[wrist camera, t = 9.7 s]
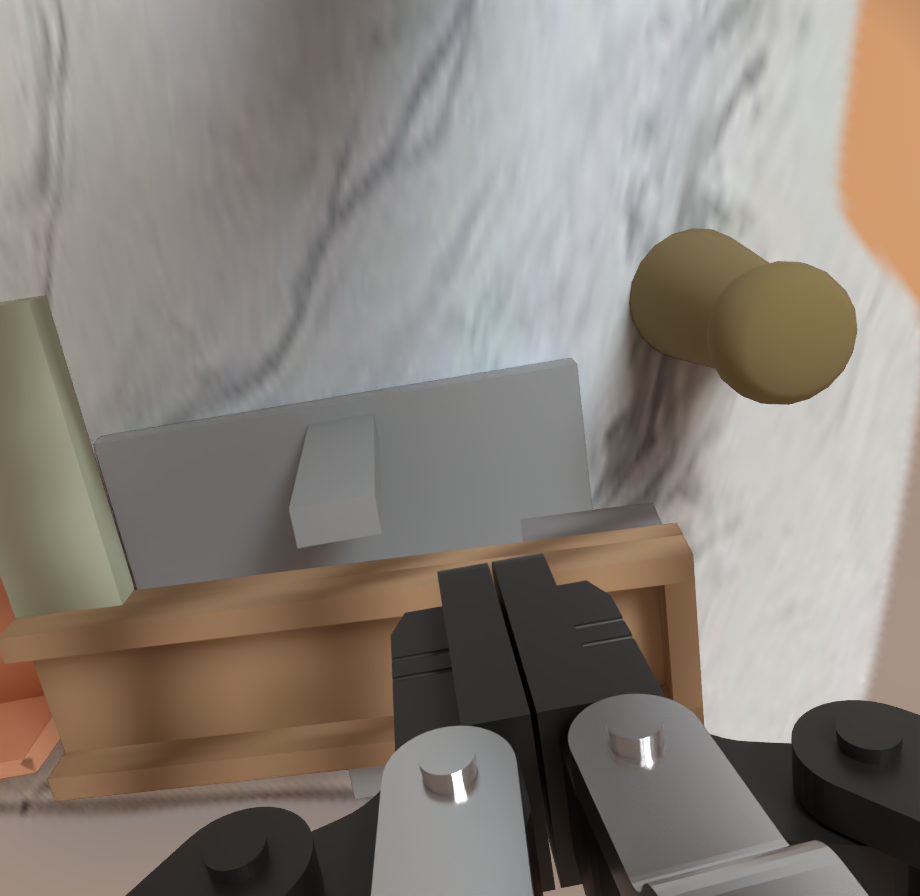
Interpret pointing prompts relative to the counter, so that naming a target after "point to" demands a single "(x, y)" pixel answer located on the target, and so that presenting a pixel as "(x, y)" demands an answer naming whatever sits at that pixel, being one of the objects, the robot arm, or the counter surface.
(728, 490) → the counter surface
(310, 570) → the chute
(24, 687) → the orange octagonal bowl
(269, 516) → the chute stand
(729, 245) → the olive green pawn
